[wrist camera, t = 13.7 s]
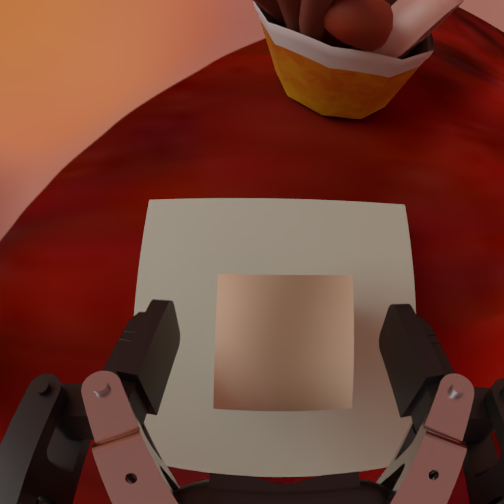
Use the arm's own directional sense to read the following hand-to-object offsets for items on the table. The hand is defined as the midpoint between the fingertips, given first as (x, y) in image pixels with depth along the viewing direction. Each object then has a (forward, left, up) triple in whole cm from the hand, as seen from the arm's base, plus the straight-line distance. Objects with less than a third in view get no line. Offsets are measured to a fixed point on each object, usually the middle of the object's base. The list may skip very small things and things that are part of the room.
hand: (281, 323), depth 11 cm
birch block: (0, -1, -7) cm, 7 cm away
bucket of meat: (+6, +24, -11) cm, 27 cm away
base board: (0, -1, -11) cm, 11 cm away
